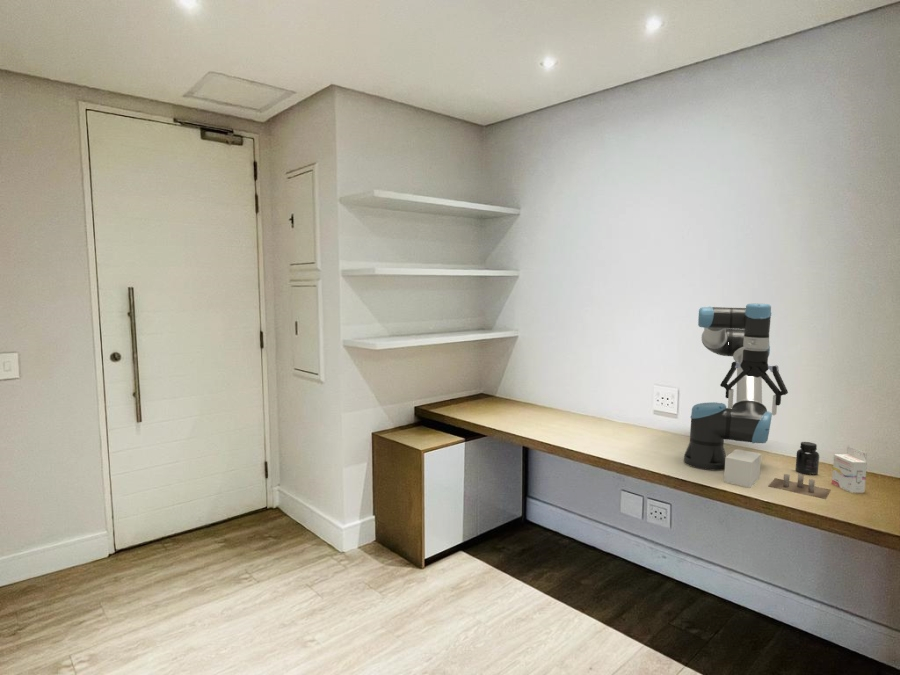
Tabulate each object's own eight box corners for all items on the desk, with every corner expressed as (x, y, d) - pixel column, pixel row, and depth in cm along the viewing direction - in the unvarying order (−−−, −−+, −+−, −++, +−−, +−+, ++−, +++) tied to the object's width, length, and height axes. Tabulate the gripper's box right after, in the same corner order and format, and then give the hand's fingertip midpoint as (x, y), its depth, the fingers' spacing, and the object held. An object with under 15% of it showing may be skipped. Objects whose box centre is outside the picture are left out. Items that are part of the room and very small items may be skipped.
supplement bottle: (790, 472, 200) (793, 440, 199) (810, 473, 200) (812, 440, 199) (802, 479, 194) (804, 446, 192) (822, 479, 193) (824, 446, 192)
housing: (734, 476, 196) (735, 449, 195) (759, 482, 190) (761, 453, 189) (723, 486, 186) (725, 457, 185) (749, 492, 181) (751, 462, 180)
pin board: (767, 490, 182) (768, 474, 182) (774, 482, 190) (775, 466, 190) (825, 503, 172) (826, 486, 171) (830, 494, 180) (831, 477, 179)
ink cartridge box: (830, 487, 186) (833, 445, 184) (844, 487, 186) (847, 444, 185) (850, 497, 177) (854, 452, 176) (865, 497, 178) (868, 452, 176)
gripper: (712, 347, 191) (709, 406, 194) (795, 354, 174) (790, 419, 177) (720, 345, 197) (716, 403, 199) (801, 351, 180) (796, 415, 182)
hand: (751, 411), depth 188 cm, fingers open, 13 cm apart
